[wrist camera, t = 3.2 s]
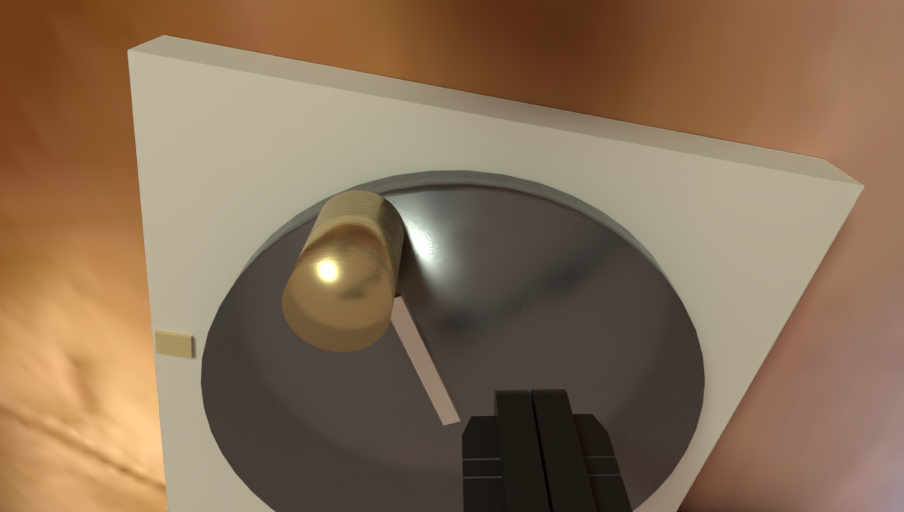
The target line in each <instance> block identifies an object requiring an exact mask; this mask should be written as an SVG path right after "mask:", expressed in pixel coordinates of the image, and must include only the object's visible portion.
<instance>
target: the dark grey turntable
mask: <svg viewBox="0 0 904 512" xmlns="http://www.w3.org/2000/svg"><path fill="white" fill-rule="evenodd" d="M704 387H705V374H704V363H703V354H702V350H701V347H700V343H699V339H698V336H697V332H696V329H695V327H694V325H693V323H692V321H691V318H690V316H689V314H688V312H687V310H686V308H685V306H684V304H683V302H682V301H681V299H680V297H679V295H678V294H677V292H676V290H675V289H674V287H673V285H672V283H671V282H670V280H669V278H668V277H667V275H666V274H665V272H664V271H663V270H662V268H661V267H660V265H659V264H658V263H657V261H656V260H655V258H654V257H653V256H652V254H651V253H650V252H649V251H648V250H647V249H646V248H645V247H644V246H643V245H642V244H641V243H640V242H639V241H638V240H637V239H636V238H635V237H634V236H633V235H632V234H631V233H630V232H629V231H628V230H627V229H625V228H624V227H623V226H621V225H620V224H619V223H617V222H616V221H615V220H613V219H612V218H611V217H609V216H608V215H607V214H605V213H604V212H602V211H600V210H599V209H597V208H595V207H593V206H591V205H589V204H588V203H586V202H584V201H582V200H580V199H578V198H577V197H575V196H573V195H570V194H567V193H565V192H562V191H560V190H557V189H554V188H552V187H549V186H547V185H544V184H541V183H538V182H534V181H530V180H525V179H521V178H517V177H513V176H509V175H505V174H496V173H487V172H478V171H470V170H444V171H423V172H416V173H409V174H401V175H394V176H390V177H386V178H382V179H378V180H374V181H371V182H367V183H363V184H359V185H356V186H354V187H352V188H349V189H347V190H344V191H342V192H339V193H337V194H334V195H332V196H330V197H327V198H325V199H323V200H321V201H320V202H318V203H316V204H315V205H313V206H311V207H309V208H308V209H306V210H304V211H302V212H301V213H299V214H297V215H296V216H295V217H293V218H292V219H291V220H289V221H288V222H287V223H286V224H284V225H283V226H282V227H281V228H279V229H278V230H277V231H276V232H274V233H273V234H272V235H271V236H270V237H269V238H268V239H267V240H266V241H265V242H264V243H263V244H262V245H261V247H260V248H259V249H258V250H257V251H256V252H255V253H254V254H253V255H252V256H251V258H250V259H249V261H248V262H247V264H246V265H245V267H244V268H243V270H242V271H241V273H240V274H239V276H238V277H237V279H236V280H235V282H234V283H233V285H232V287H231V288H230V290H229V292H228V293H227V295H226V297H225V298H224V300H223V302H222V303H221V305H220V306H219V309H218V311H217V313H216V315H215V318H214V320H213V322H212V324H211V327H210V329H209V331H208V335H207V339H206V343H205V347H204V351H203V356H202V367H201V390H202V398H203V406H204V410H205V414H206V417H207V420H208V423H209V427H210V430H211V432H212V435H213V437H214V439H215V441H216V443H217V445H218V447H219V449H220V451H221V453H222V454H223V456H224V457H225V459H226V460H227V462H228V463H229V465H230V466H231V468H232V469H233V471H234V472H235V473H236V475H237V476H238V477H239V478H240V479H241V480H242V481H243V482H244V484H245V485H246V486H247V487H248V488H249V489H250V490H251V491H252V492H253V493H254V494H255V495H256V496H257V497H258V498H260V499H261V500H262V501H263V502H264V503H265V504H266V505H268V506H269V507H270V508H271V509H272V510H274V511H275V512H463V475H462V434H463V432H464V430H465V428H466V426H467V424H468V422H469V420H470V418H471V416H494V393H495V390H529V392H530V391H531V390H537V389H566V391H567V394H568V398H569V402H570V406H571V410H572V414H593V415H594V416H595V418H596V419H597V420H598V421H599V422H600V423H601V425H602V426H603V427H604V428H605V429H606V431H607V432H608V434H609V437H610V440H611V443H612V446H613V450H614V453H615V459H617V463H618V466H619V469H620V475H621V477H622V479H623V482H624V485H625V489H626V492H627V495H628V498H629V502H630V505H631V508H632V511H634V510H635V509H637V508H638V507H639V506H640V505H641V504H642V503H644V502H645V501H646V500H647V499H648V498H649V497H650V496H651V495H652V494H654V493H655V492H656V491H657V490H658V489H659V487H660V486H661V485H662V484H663V483H664V482H665V480H666V479H667V478H668V477H669V476H670V475H671V473H672V472H673V471H674V469H675V468H676V466H677V465H678V463H679V462H680V460H681V459H682V457H683V456H684V454H685V452H686V451H687V449H688V446H689V444H690V442H691V440H692V438H693V435H694V433H695V431H696V429H697V425H698V421H699V418H700V414H701V410H702V406H703V398H704Z"/></svg>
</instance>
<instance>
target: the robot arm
mask: <svg viewBox="0 0 904 512" xmlns="http://www.w3.org/2000/svg"><path fill="white" fill-rule="evenodd" d="M462 475H463V512H633V511H632V508H631V505H630V502H629V498H628V495H627V492H626V489H625V485H624V482H623V479H622V477H621V475H620V469H619V466H618V463H617V459H615V453H614V450H613V446H612V443H611V440H610V437H609V434H608V432H607V431H606V429H605V428H604V427H603V426H602V425H601V423H600V422H599V421H598V420H597V419H596V418H595V416H594V415H593V414H572V410H571V406H570V402H569V398H568V394H567V391H566V389H537V390H531V391H530V392H529V390H495V393H494V416H471V418H470V420H469V422H468V424H467V426H466V428H465V430H464V432H463V434H462Z"/></svg>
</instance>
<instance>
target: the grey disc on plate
mask: <svg viewBox="0 0 904 512" xmlns="http://www.w3.org/2000/svg"><path fill="white" fill-rule="evenodd" d="M128 61H129V72H130V83H131V95H132V106H133V118H134V129H135V141H136V152H137V163H138V175H139V186H140V198H141V209H142V221H143V232H144V243H145V255H146V266H147V278H148V289H149V300H150V312H151V323H152V335H153V346H154V358H155V369H156V380H157V392H158V403H159V415H160V426H161V437H162V449H163V460H164V472H165V483H166V495H167V506H168V512H275V511H274V510H272V509H271V508H270V507H269V506H268V505H266V504H265V503H264V502H263V501H262V500H261V499H260V498H258V497H257V496H256V495H255V494H254V493H253V492H252V491H251V490H250V489H249V488H248V487H247V486H246V485H245V484H244V482H243V481H242V480H241V479H240V478H239V477H238V476H237V475H236V473H235V472H234V471H233V469H232V468H231V466H230V465H229V463H228V462H227V460H226V459H225V457H224V456H223V454H222V453H221V451H220V449H219V447H218V445H217V443H216V441H215V439H214V437H213V435H212V432H211V430H210V427H209V423H208V420H207V417H206V414H205V410H204V406H203V398H202V390H201V367H202V356H203V351H204V347H205V343H206V339H207V335H208V331H209V329H210V327H211V324H212V322H213V320H214V318H215V315H216V313H217V311H218V309H219V306H220V305H221V303H222V302H223V300H224V298H225V297H226V295H227V293H228V292H229V290H230V288H231V287H232V285H233V283H234V282H235V280H236V279H237V277H238V276H239V274H240V273H241V271H242V270H243V268H244V267H245V265H246V264H247V262H248V261H249V259H250V258H251V256H252V255H253V254H254V253H255V252H256V251H257V250H258V249H259V248H260V247H261V245H262V244H263V243H264V242H265V241H266V240H267V239H268V238H269V237H270V236H271V235H272V234H273V233H274V232H276V231H277V230H278V229H279V228H281V227H282V226H283V225H284V224H286V223H287V222H288V221H289V220H291V219H292V218H293V217H295V216H296V215H297V214H299V213H301V212H302V211H304V210H306V209H308V208H309V207H311V206H313V205H315V204H316V203H318V202H320V201H321V200H323V199H325V198H327V197H330V196H332V195H334V194H337V193H339V192H342V191H344V190H347V189H349V188H352V187H354V186H356V185H359V184H363V183H367V182H371V181H374V180H378V179H382V178H386V177H390V176H394V175H401V174H409V173H416V172H423V171H444V170H470V171H478V172H487V173H496V174H505V175H509V176H513V177H517V178H521V179H525V180H530V181H534V182H538V183H541V184H544V185H547V186H549V187H552V188H554V189H557V190H560V191H562V192H565V193H567V194H570V195H573V196H575V197H577V198H578V199H580V200H582V201H584V202H586V203H588V204H589V205H591V206H593V207H595V208H597V209H599V210H600V211H602V212H604V213H605V214H607V215H608V216H609V217H611V218H612V219H613V220H615V221H616V222H617V223H619V224H620V225H621V226H623V227H624V228H625V229H627V230H628V231H629V232H630V233H631V234H632V235H633V236H634V237H635V238H636V239H637V240H638V241H639V242H640V243H641V244H642V245H643V246H644V247H645V248H646V249H647V250H648V251H649V252H650V253H651V254H652V256H653V257H654V258H655V260H656V261H657V263H658V264H659V265H660V267H661V268H662V270H663V271H664V272H665V274H666V275H667V277H668V278H669V280H670V282H671V283H672V285H673V287H674V289H675V290H676V292H677V294H678V295H679V297H680V299H681V301H682V302H683V304H684V306H685V308H686V310H687V312H688V314H689V316H690V318H691V321H692V323H693V325H694V327H695V329H696V332H697V336H698V339H699V343H700V347H701V350H702V354H703V363H704V374H705V387H704V398H703V406H702V410H701V414H700V418H699V421H698V425H697V429H696V431H695V433H694V435H693V438H692V440H691V442H690V444H689V446H688V449H687V451H686V452H685V454H684V456H683V457H682V459H681V460H680V462H679V463H678V465H677V466H676V468H675V469H674V471H673V472H672V473H671V475H670V476H669V477H668V478H667V479H666V480H665V482H664V483H663V484H662V485H661V486H660V487H659V489H658V490H657V491H656V492H655V493H654V494H652V495H651V496H650V497H649V498H648V499H647V500H646V501H645V502H644V503H642V504H641V505H640V506H639V507H638V508H637V509H635V510H634V511H633V512H676V511H677V510H678V508H679V506H680V505H681V503H682V501H683V499H684V498H685V496H686V494H687V492H688V491H689V489H690V487H691V486H692V484H693V482H694V480H695V479H696V477H697V475H698V473H699V472H700V470H701V468H702V467H703V465H704V463H705V461H706V460H707V458H708V456H709V454H710V453H711V451H712V449H713V448H714V446H715V444H716V442H717V441H718V439H719V437H720V435H721V434H722V432H723V430H724V429H725V427H726V425H727V423H728V422H729V420H730V418H731V416H732V415H733V413H734V411H735V410H736V408H737V406H738V404H739V403H740V401H741V399H742V397H743V396H744V394H745V392H746V391H747V389H748V387H749V385H750V384H751V382H752V380H753V378H754V377H755V375H756V373H757V372H758V370H759V368H760V366H761V365H762V363H763V361H764V359H765V358H766V356H767V354H768V353H769V351H770V349H771V347H772V346H773V344H774V342H775V340H776V339H777V337H778V335H779V334H780V332H781V330H782V328H783V327H784V325H785V323H786V321H787V320H788V318H789V316H790V315H791V313H792V311H793V309H794V308H795V306H796V304H797V302H798V301H799V299H800V297H801V296H802V294H803V292H804V290H805V289H806V287H807V285H808V283H809V282H810V280H811V278H812V277H813V275H814V273H815V271H816V270H817V268H818V266H819V264H820V263H821V261H822V259H823V258H824V256H825V254H826V252H827V251H828V249H829V247H830V245H831V244H832V242H833V240H834V239H835V237H836V235H837V233H838V232H839V230H840V228H841V226H842V225H843V223H844V221H845V220H846V218H847V216H848V214H849V213H850V211H851V209H852V207H853V206H854V204H855V202H856V201H857V199H858V197H859V195H860V194H861V192H862V190H863V188H864V187H865V186H864V185H862V184H861V183H859V182H858V181H856V180H855V179H853V178H852V177H850V176H849V175H847V174H845V173H844V172H842V171H841V170H839V169H838V168H836V167H835V166H833V165H832V164H830V163H829V162H827V161H826V160H824V159H821V158H816V157H811V156H805V155H800V154H795V153H789V152H784V151H779V150H773V149H768V148H763V147H757V146H752V145H747V144H741V143H736V142H731V141H725V140H720V139H715V138H709V137H704V136H699V135H693V134H688V133H683V132H677V131H672V130H667V129H661V128H656V127H651V126H645V125H640V124H635V123H630V122H624V121H619V120H614V119H608V118H603V117H598V116H592V115H587V114H582V113H576V112H571V111H566V110H560V109H555V108H550V107H544V106H539V105H534V104H528V103H523V102H518V101H512V100H507V99H502V98H496V97H491V96H486V95H480V94H475V93H470V92H464V91H459V90H454V89H448V88H443V87H438V86H433V85H427V84H422V83H417V82H411V81H406V80H401V79H395V78H390V77H385V76H379V75H374V74H369V73H363V72H358V71H353V70H347V69H342V68H337V67H331V66H326V65H321V64H315V63H310V62H305V61H299V60H294V59H289V58H283V57H278V56H273V55H267V54H262V53H257V52H252V51H246V50H241V49H236V48H230V47H225V46H220V45H214V44H209V43H204V42H198V41H193V40H188V39H182V38H177V37H172V36H166V35H163V36H161V37H158V38H156V39H154V40H151V41H149V42H146V43H144V44H141V45H139V46H136V47H134V48H131V49H129V50H128Z"/></svg>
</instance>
